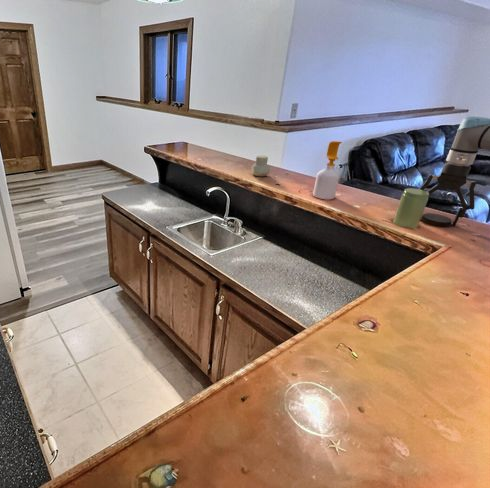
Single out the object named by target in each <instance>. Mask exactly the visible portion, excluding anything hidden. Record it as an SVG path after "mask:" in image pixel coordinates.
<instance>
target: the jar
mask: <svg viewBox="0 0 490 488" xmlns="http://www.w3.org/2000/svg"><path fill="white" fill-rule="evenodd" d="M427 191H428V190H425V189H424V190H420V189H419V188H411V187H410V188H409V187H407V188H404V190H403V192H402V193H401V195H400V199H399V203H398V204H397V208H396V211H395V213H394V217H393V220H392V222H393V223H394V225H396V226H399V227H403V228H406V229H407V228H408V229H417V228H418V227H419V225H420V222H421V218H422V215H423V214H424V211H425V209H426V206H427V204H428V201H429V196H430V195H429V193H428V192H427Z"/></svg>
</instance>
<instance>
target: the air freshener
mask: <svg viewBox="0 0 490 488" xmlns="http://www.w3.org/2000/svg"><path fill="white" fill-rule="evenodd" d="M268 158H269V157H268V156H267V155H257V156H256V157H255V163H254V164H251V167H250V169H251V170H250V172H251V174H252V175H253V176H255V177H266V176H268V175H269V174H270V171H271V169H270V166H269V164H268V161H269V160H268Z"/></svg>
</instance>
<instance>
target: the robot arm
mask: <svg viewBox="0 0 490 488" xmlns="http://www.w3.org/2000/svg"><path fill="white" fill-rule="evenodd" d="M479 150H481V151H487V152H490V118H489V117H483V116H466V117H464V118H462V120H461V122H460V124H459V127H458V128H457V130H456V134H455V137H454V139H453V142H452V145H451V147H450V149H449V152H448V153H447V157H446V159H445V162H444V164H443V166H442V169H441V172H440V173H439V174H438V175H436V174H433V173H430V174H428V176H427V179H426V180H425V181H424V182H423V184H422V185H421V186H420V187H419V188H418V189H420V190H424V191H425V189H426V188H427V187H428V186H429V185H430V183H431V182H434V181H435V180H437V182H438V183H436V184H435V185H434V186H432V187H431V188H430V189H428V190H426V191H427V192H428V193H429V196H430V195H432V194H434V193H435V192H436V191H438V190H440V189H442V190H450V191H455V192H456V194H457V197H458V199H459V202H460V205H461V207H460V206H459V208H458V210H457V213H456V215H455V217H454V219H453V220H452V227H456V225H457V223H458V221H459V219H462V218H464V217H465V214H466V212H467V211H468V210H475V187H476V185H477V181H476V180H468V179H467V178H468V175H469V173H470V171H471V169H472V167H471V165H473V164H474V162H475V159H476V156H477V154H478V152H479ZM465 185H466V186H467V188H468V193H469V195H468V196H469V197H468V199H469V204H467V201H466V199H465V197H464V194H463V192H462V189H461V187H463V186H465Z"/></svg>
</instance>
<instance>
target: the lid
mask: <svg viewBox="0 0 490 488" xmlns="http://www.w3.org/2000/svg"><path fill="white" fill-rule="evenodd" d="M420 222H423V223H424V224H427V225H429V226H433V227H438V228H448V227H450V226H451V224H452V223H453V220H452V219H451V218H450V217H448V216H445V215H443V214H438V213H433V212H432V213H431V212H425V213H423V214H422V217H421V220H420Z"/></svg>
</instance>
